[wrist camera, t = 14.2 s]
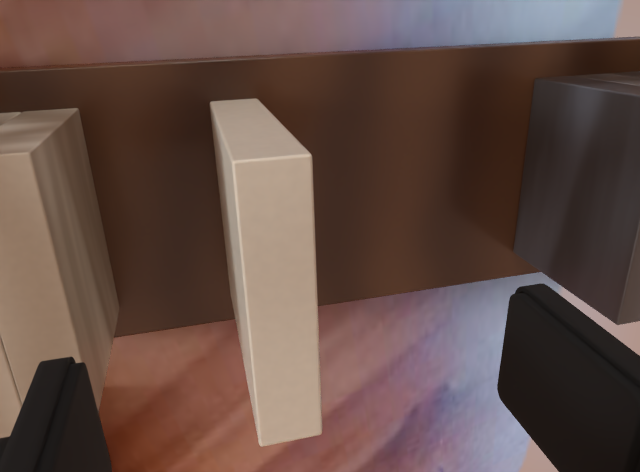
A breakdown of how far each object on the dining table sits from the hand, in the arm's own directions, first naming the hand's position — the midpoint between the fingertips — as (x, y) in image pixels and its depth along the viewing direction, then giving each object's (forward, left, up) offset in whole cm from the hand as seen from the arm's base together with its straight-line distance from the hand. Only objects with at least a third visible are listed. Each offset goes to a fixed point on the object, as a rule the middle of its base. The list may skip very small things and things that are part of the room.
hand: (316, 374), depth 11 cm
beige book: (0, 0, -13) cm, 13 cm away
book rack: (-4, +3, -15) cm, 16 cm away
